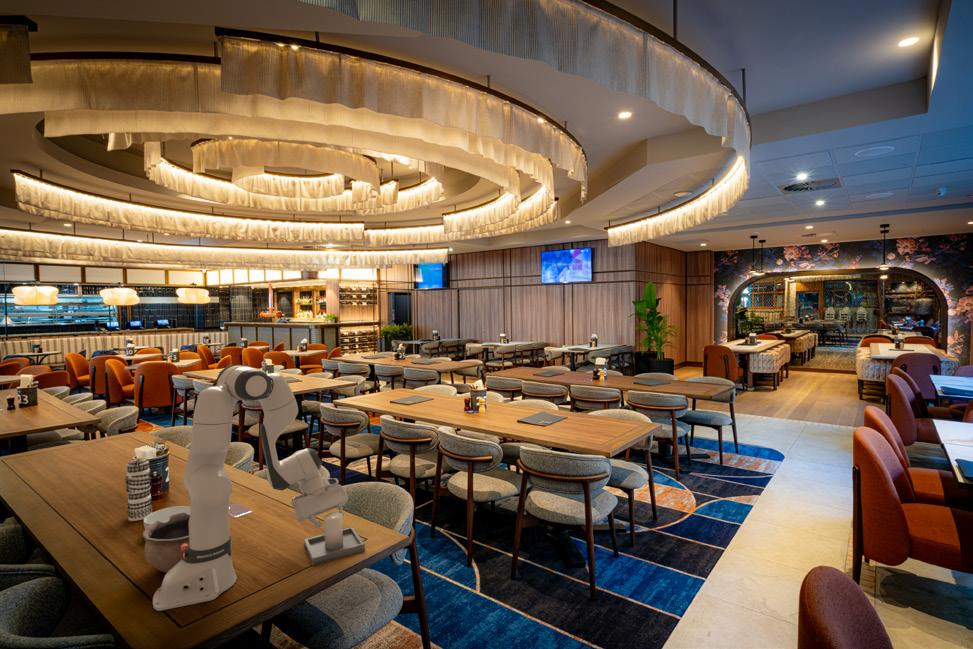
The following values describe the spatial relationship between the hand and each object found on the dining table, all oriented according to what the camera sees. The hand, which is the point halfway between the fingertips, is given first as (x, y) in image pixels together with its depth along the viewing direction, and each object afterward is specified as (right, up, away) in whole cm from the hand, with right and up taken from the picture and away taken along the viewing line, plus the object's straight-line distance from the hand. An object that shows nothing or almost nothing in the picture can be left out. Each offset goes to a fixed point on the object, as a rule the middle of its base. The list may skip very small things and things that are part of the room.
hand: (330, 521), depth 171 cm
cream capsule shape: (+1, -9, 0) cm, 9 cm away
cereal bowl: (-70, -11, +16) cm, 73 cm away
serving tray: (+1, -10, 0) cm, 10 cm away
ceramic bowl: (-48, -11, -10) cm, 50 cm away
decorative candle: (-93, -11, +30) cm, 98 cm away
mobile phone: (-53, -10, +34) cm, 64 cm away
